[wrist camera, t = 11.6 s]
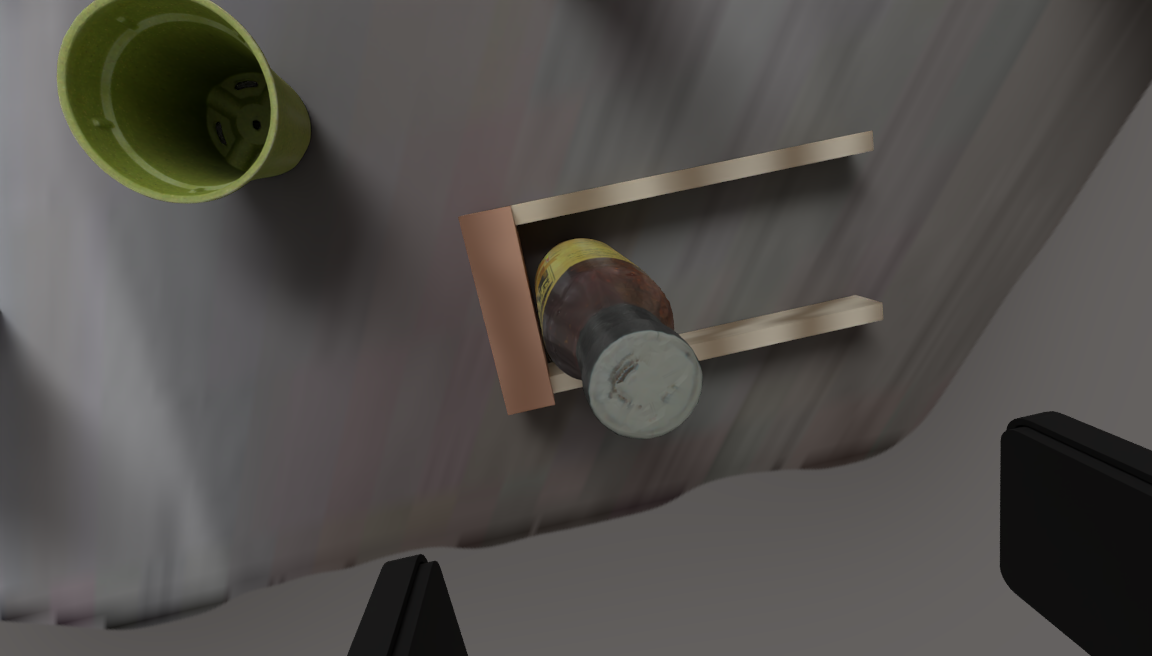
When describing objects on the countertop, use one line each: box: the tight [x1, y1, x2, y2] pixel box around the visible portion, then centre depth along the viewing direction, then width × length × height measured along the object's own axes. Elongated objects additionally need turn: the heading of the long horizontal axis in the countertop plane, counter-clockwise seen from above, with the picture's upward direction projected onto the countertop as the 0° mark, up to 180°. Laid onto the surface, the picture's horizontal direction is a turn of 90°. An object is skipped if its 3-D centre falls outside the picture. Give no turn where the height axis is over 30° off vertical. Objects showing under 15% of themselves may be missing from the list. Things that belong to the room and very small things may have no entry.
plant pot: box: [57, 0, 311, 203], centre depth 29 cm, size 9×9×9 cm
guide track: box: [458, 131, 883, 415], centre depth 35 cm, size 26×12×5 cm, turn 101°
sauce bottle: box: [535, 238, 703, 439], centre depth 27 cm, size 7×6×20 cm
